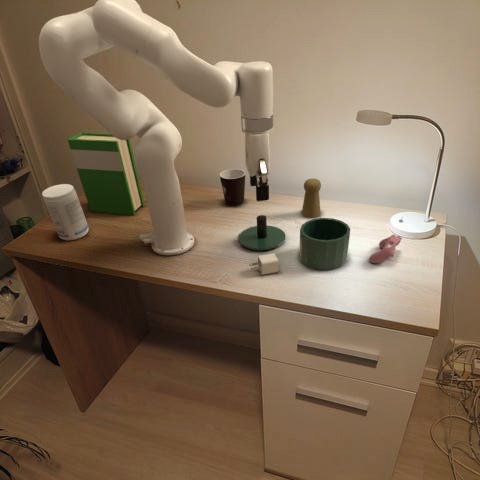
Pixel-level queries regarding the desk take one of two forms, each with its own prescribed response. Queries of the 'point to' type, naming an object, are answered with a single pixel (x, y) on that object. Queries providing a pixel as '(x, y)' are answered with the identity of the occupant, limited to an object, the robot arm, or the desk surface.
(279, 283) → the desk surface
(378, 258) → the pink toy animal
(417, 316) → the desk surface
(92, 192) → the hardback book
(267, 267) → the usb wall charger
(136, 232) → the desk surface
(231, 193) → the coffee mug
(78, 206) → the supplement tub
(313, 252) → the tin
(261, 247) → the tin lid
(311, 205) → the olive pawn figure
